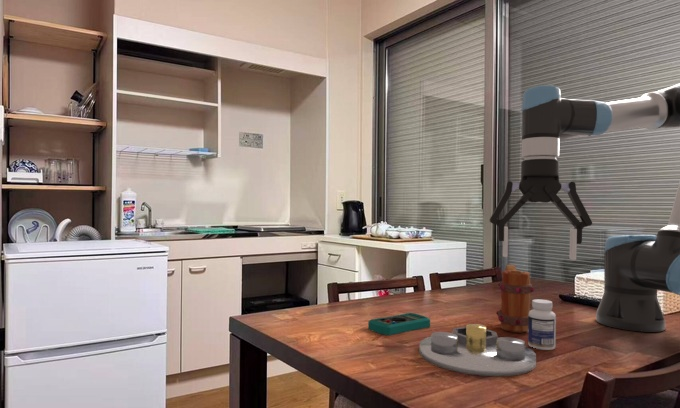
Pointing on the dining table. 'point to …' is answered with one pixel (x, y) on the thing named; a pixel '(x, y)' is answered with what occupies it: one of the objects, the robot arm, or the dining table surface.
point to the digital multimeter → (398, 323)
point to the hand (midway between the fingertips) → (538, 258)
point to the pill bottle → (542, 325)
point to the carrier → (477, 352)
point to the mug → (514, 300)
